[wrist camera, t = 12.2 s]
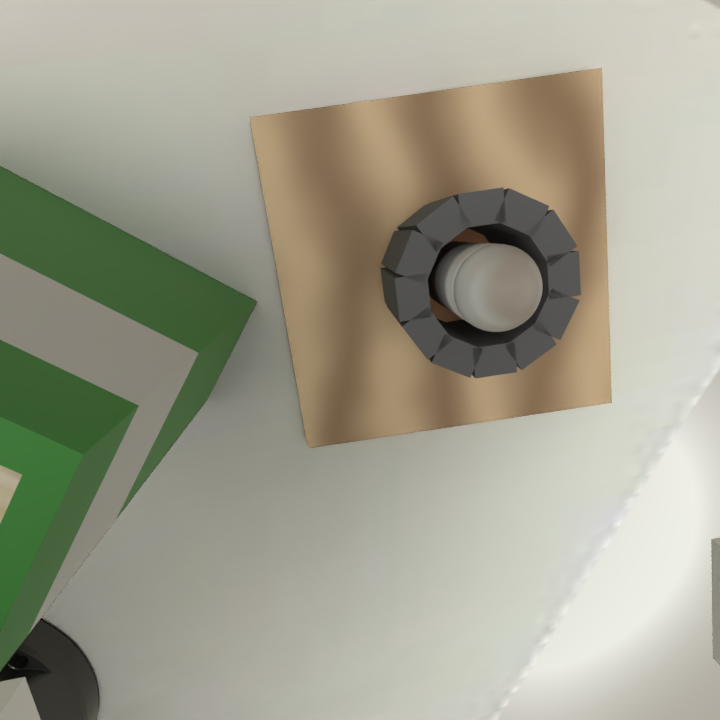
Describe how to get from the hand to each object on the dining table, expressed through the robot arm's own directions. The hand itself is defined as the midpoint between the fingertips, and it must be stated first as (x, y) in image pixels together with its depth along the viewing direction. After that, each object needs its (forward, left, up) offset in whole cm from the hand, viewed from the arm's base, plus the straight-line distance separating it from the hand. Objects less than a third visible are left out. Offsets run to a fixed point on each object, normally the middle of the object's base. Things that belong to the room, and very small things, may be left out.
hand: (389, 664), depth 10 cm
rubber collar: (+6, +5, -21) cm, 23 cm away
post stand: (+7, +5, -25) cm, 26 cm away
